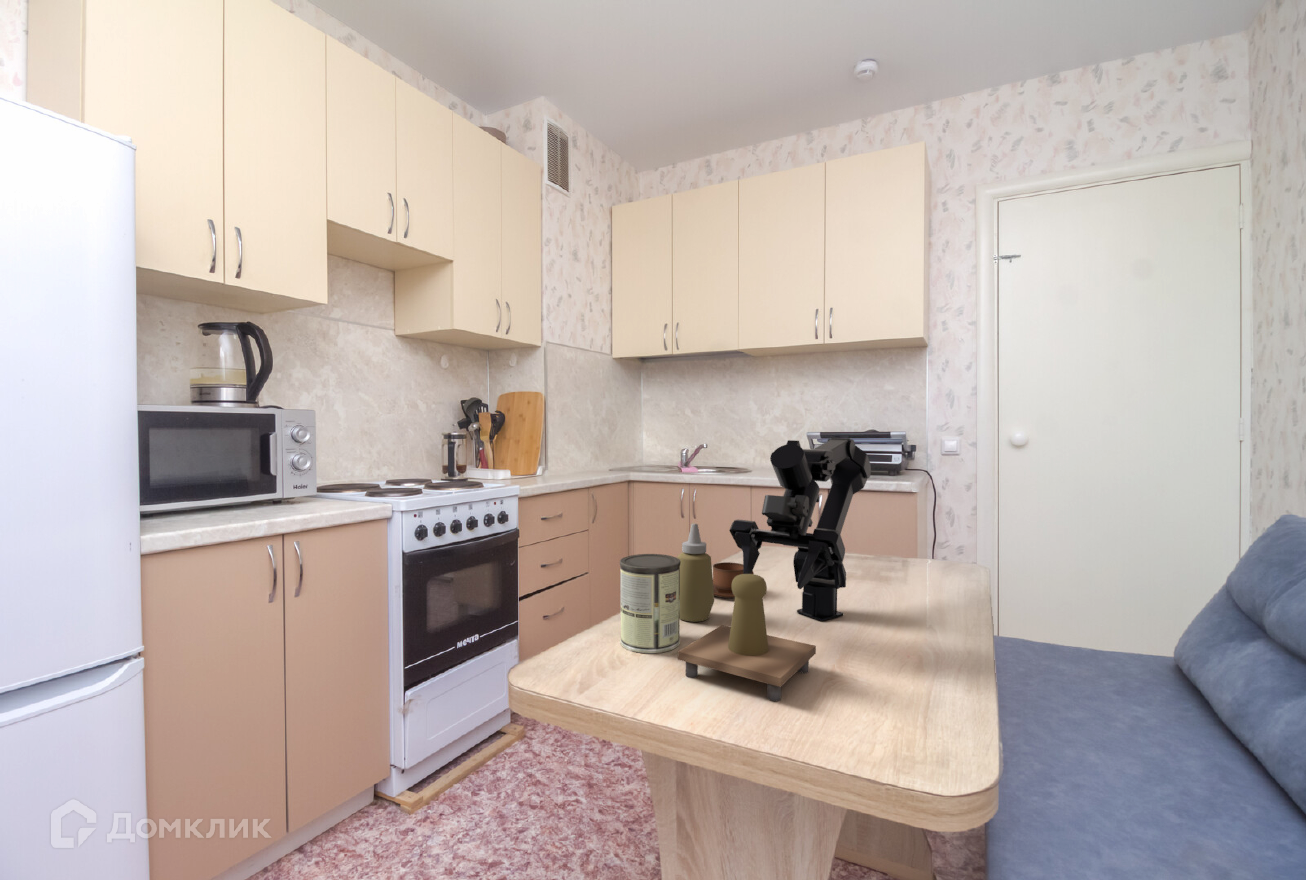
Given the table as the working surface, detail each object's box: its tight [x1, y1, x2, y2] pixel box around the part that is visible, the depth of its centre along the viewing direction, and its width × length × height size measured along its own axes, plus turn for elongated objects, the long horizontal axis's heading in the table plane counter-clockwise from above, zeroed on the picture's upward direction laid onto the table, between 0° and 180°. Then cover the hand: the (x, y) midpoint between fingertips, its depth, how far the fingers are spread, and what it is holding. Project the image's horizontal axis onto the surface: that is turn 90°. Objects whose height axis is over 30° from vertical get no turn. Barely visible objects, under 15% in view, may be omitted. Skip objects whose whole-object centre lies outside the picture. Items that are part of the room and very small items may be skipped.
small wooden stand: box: [677, 624, 817, 702], centre depth 91 cm, size 16×14×4 cm
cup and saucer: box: [712, 561, 755, 599], centre depth 132 cm, size 12×12×6 cm
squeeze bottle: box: [676, 523, 715, 623], centre depth 115 cm, size 8×8×18 cm
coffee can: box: [619, 553, 681, 654], centre depth 103 cm, size 10×10×14 cm
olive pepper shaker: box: [728, 574, 769, 656], centre depth 91 cm, size 6×6×11 cm
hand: (771, 583), depth 97 cm, fingers open, 9 cm apart
